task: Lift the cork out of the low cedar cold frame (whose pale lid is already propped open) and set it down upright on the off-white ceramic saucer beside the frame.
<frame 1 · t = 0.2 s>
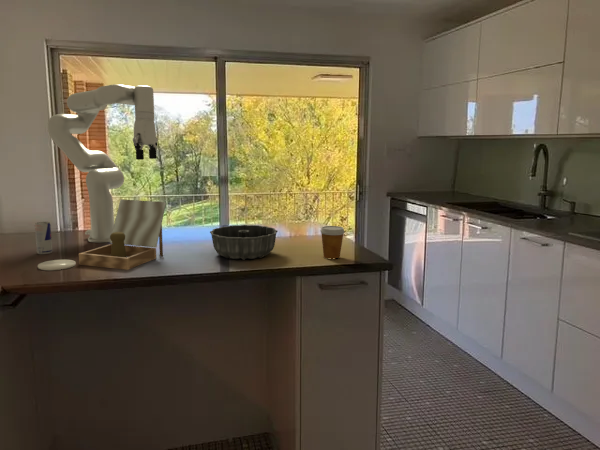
hand: (146, 159, 201), 37 cm above the countertop, tool pointing down, fingers open, 9 cm apart
saucer: (57, 265, 171), on the countertop
cork: (119, 261, 179), resting in cold frame
bundt pan: (244, 255, 193), on the countertop
energy drink: (44, 253, 190), on the countertop
disposable coffee cup: (331, 258, 191), on the countertop
cold frame: (118, 261, 179), on the countertop
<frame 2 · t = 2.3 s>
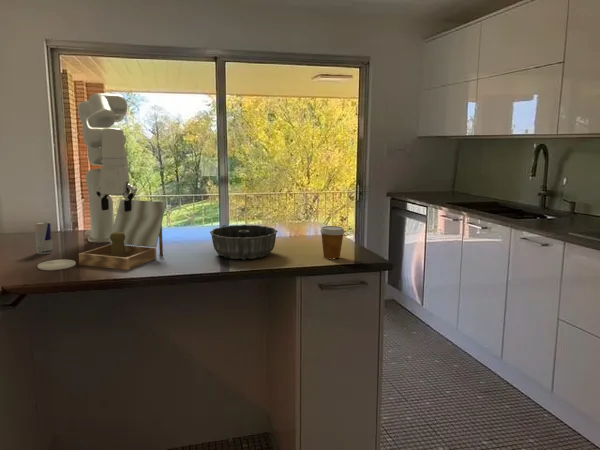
hand: (116, 210, 175), 19 cm above the countertop, tool pointing down, fingers open, 9 cm apart
nothing on the countertop moved.
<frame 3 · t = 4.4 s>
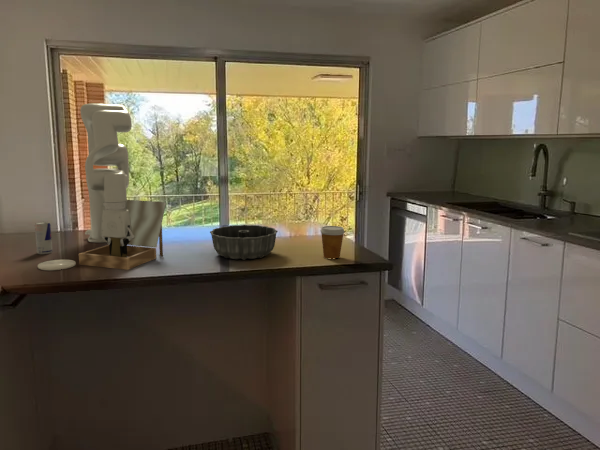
hand: (118, 254, 179), 2 cm above the countertop, tool pointing down, fingers closed on cork, 3 cm apart
cork: (119, 261, 179), resting in cold frame, touching gripper
everything else where it was.
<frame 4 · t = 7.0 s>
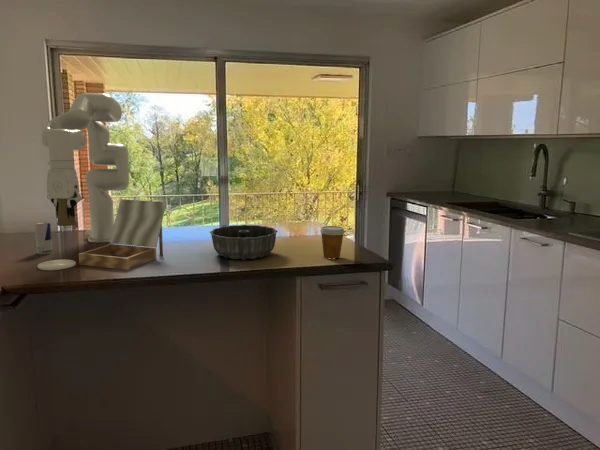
hand: (65, 217, 170), 17 cm above the countertop, tool pointing down, fingers closed on cork, 3 cm apart
cork: (66, 225, 170), point 15 cm above the countertop, touching gripper
everything else where it was.
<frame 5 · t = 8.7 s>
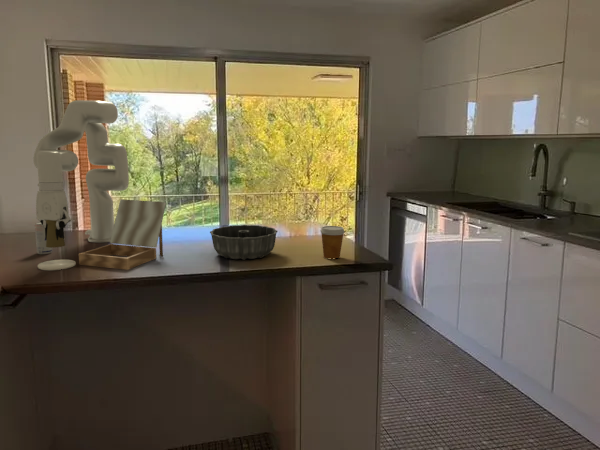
hand: (54, 238, 169), 10 cm above the countertop, tool pointing down, fingers closed on cork, 3 cm apart
cork: (55, 246, 170), point 7 cm above the countertop, touching gripper
everything else where it was.
when the fingers open (5 cm above the countertop, at t = 10.0 s): cork drops 1 cm, resting on saucer.
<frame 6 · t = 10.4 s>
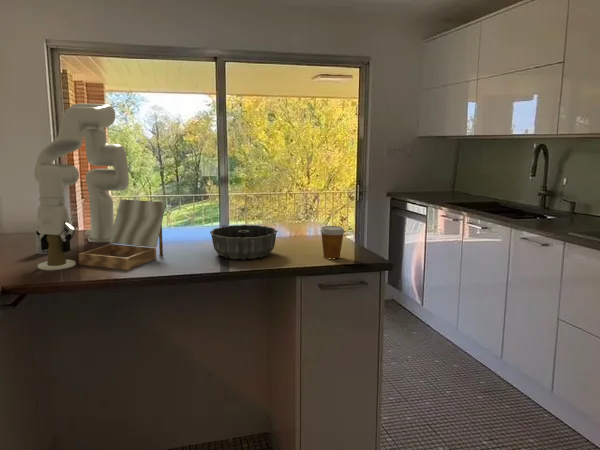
hand: (55, 250, 170), 6 cm above the countertop, tool pointing down, fingers open, 8 cm apart
cork: (57, 264, 171), point 1 cm above the countertop, touching saucer
everything else where it was.
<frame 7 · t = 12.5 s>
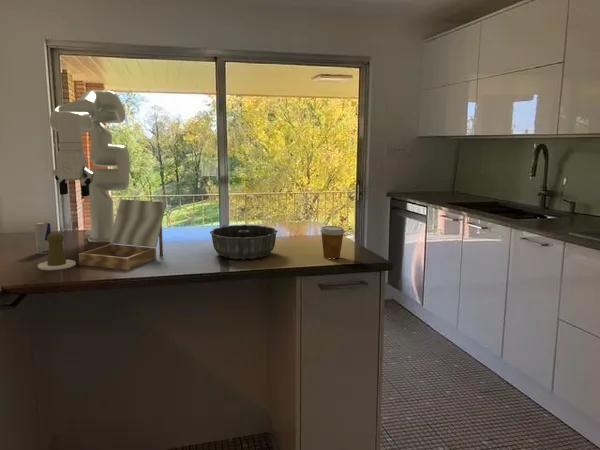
hand: (74, 195, 175), 24 cm above the countertop, tool pointing down, fingers open, 9 cm apart
nothing on the countertop moved.
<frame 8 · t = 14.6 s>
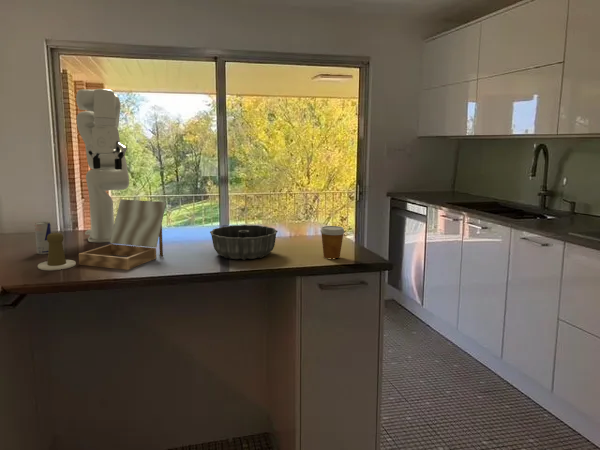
hand: (107, 168, 184), 33 cm above the countertop, tool pointing down, fingers open, 9 cm apart
nothing on the countertop moved.
at the end: cork 0.0 cm from the saucer (horizontally); cork tilted 0°; the gripper is holding nothing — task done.
